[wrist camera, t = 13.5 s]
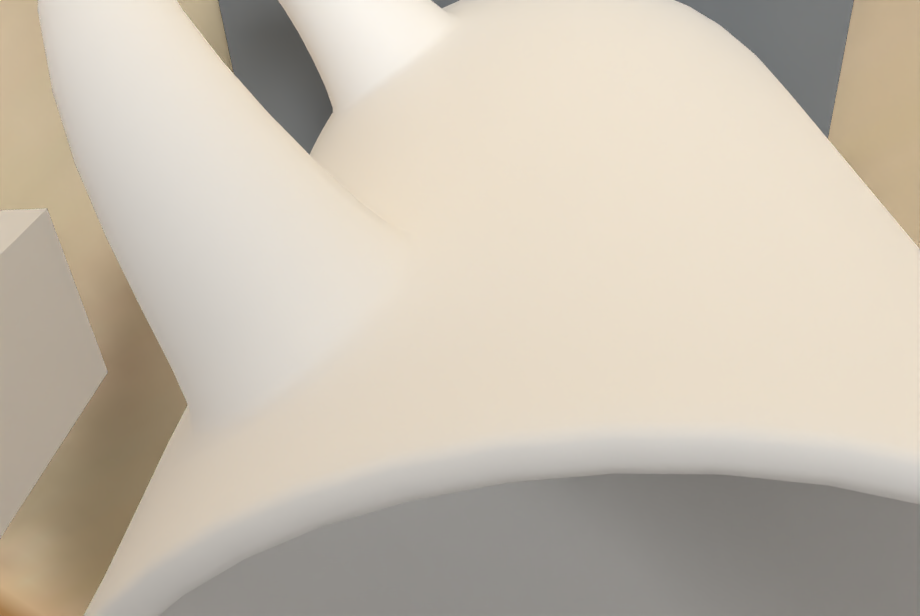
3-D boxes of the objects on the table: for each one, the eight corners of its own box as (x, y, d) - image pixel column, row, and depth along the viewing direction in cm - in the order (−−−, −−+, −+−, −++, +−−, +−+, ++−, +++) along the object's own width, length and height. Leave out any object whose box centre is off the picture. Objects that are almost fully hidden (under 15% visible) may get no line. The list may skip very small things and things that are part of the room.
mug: (512, -419, 10) (549, -1435, 2) (871, 267, 16) (1363, 958, 7) (67, -6, 13) (-793, 468, 5) (490, 454, 19) (475, 1100, 10)
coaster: (199, -151, 13) (186, -146, 12) (874, -197, 12) (890, -196, 12) (306, 369, 18) (301, 386, 18) (774, 358, 18) (783, 376, 17)
